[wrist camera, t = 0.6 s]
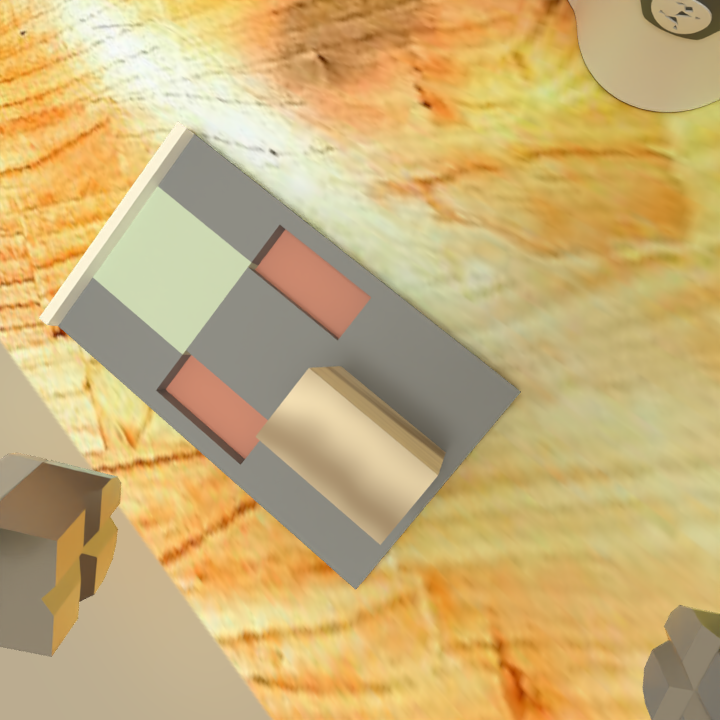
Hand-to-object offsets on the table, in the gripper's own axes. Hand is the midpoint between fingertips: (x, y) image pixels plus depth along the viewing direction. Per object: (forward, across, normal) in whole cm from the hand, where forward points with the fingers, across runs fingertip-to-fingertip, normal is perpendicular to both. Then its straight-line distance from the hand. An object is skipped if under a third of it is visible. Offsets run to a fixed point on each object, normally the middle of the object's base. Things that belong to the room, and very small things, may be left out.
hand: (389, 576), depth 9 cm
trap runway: (+44, +8, +14) cm, 46 cm away
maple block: (+38, -1, +18) cm, 42 cm away
